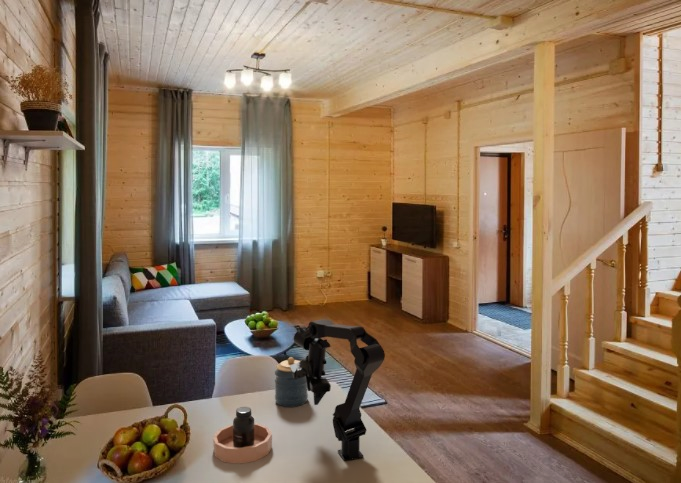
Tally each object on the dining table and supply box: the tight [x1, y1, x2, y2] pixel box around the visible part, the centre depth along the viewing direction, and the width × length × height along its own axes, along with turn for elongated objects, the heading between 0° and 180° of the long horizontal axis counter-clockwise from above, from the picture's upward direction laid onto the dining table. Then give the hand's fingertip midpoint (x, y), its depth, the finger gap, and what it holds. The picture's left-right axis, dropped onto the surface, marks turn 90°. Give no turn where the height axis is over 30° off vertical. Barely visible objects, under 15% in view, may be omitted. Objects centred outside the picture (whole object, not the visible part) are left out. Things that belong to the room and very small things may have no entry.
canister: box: [274, 356, 309, 408], centre depth 210 cm, size 13×13×18 cm
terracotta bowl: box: [212, 422, 273, 464], centre depth 172 cm, size 18×18×4 cm
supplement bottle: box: [232, 406, 255, 448], centre depth 172 cm, size 7×7×12 cm
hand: (312, 397), depth 183 cm, fingers open, 9 cm apart
